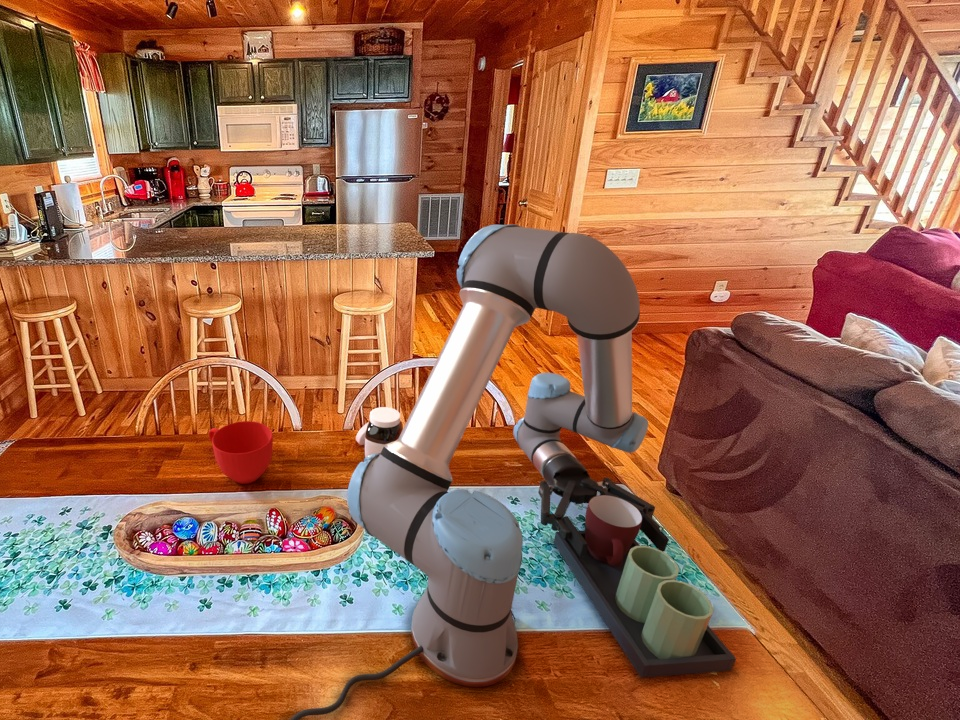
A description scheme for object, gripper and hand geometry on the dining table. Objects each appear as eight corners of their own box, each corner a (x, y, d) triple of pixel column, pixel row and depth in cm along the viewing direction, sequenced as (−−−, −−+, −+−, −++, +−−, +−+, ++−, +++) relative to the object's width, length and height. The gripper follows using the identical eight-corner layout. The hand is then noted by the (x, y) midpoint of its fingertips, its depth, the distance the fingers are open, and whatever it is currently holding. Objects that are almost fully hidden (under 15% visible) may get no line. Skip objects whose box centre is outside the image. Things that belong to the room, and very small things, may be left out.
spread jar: (392, 474, 113) (394, 429, 108) (345, 461, 117) (345, 418, 112) (407, 445, 122) (410, 403, 118) (364, 435, 127) (364, 394, 122)
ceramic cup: (233, 446, 124) (229, 410, 120) (286, 469, 115) (284, 432, 111) (192, 473, 114) (186, 435, 110) (247, 501, 105) (243, 461, 101)
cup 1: (630, 627, 77) (646, 580, 73) (606, 593, 83) (619, 546, 79) (670, 625, 77) (689, 577, 73) (644, 590, 83) (659, 544, 79)
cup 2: (659, 670, 71) (678, 620, 67) (631, 629, 77) (647, 581, 73) (703, 666, 71) (725, 617, 67) (671, 626, 77) (690, 578, 73)
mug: (643, 587, 83) (658, 541, 79) (590, 582, 84) (603, 536, 80) (618, 540, 93) (630, 496, 88) (571, 536, 94) (581, 493, 89)
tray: (640, 678, 70) (645, 665, 69) (553, 542, 93) (555, 531, 92) (730, 671, 71) (736, 658, 70) (621, 538, 94) (625, 527, 93)
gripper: (616, 480, 104) (691, 560, 85) (497, 487, 103) (546, 569, 84) (624, 450, 101) (704, 525, 82) (502, 456, 100) (553, 534, 81)
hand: (624, 548), depth 83 cm, fingers open, 13 cm apart
